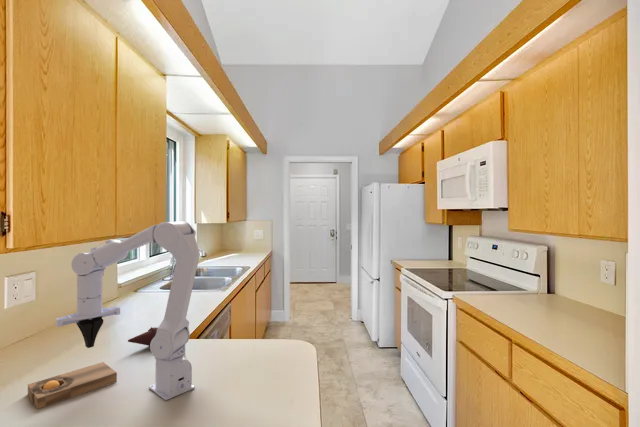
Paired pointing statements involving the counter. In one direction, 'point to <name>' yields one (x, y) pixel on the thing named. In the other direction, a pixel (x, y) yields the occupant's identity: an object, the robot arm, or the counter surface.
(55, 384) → the ball
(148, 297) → the counter surface
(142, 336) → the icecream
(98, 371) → the board
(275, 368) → the counter surface
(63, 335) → the counter surface
